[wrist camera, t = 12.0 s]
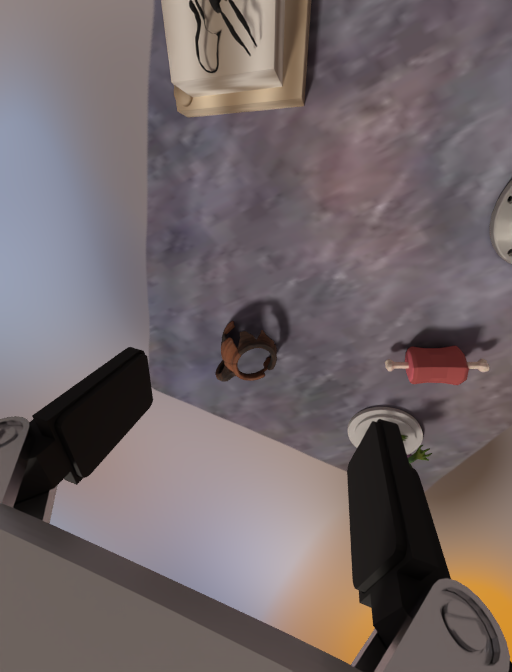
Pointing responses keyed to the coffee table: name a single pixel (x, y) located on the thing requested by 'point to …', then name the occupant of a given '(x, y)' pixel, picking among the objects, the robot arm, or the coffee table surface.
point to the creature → (215, 5)
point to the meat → (437, 365)
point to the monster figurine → (404, 420)
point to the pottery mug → (233, 353)
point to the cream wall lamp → (238, 56)
